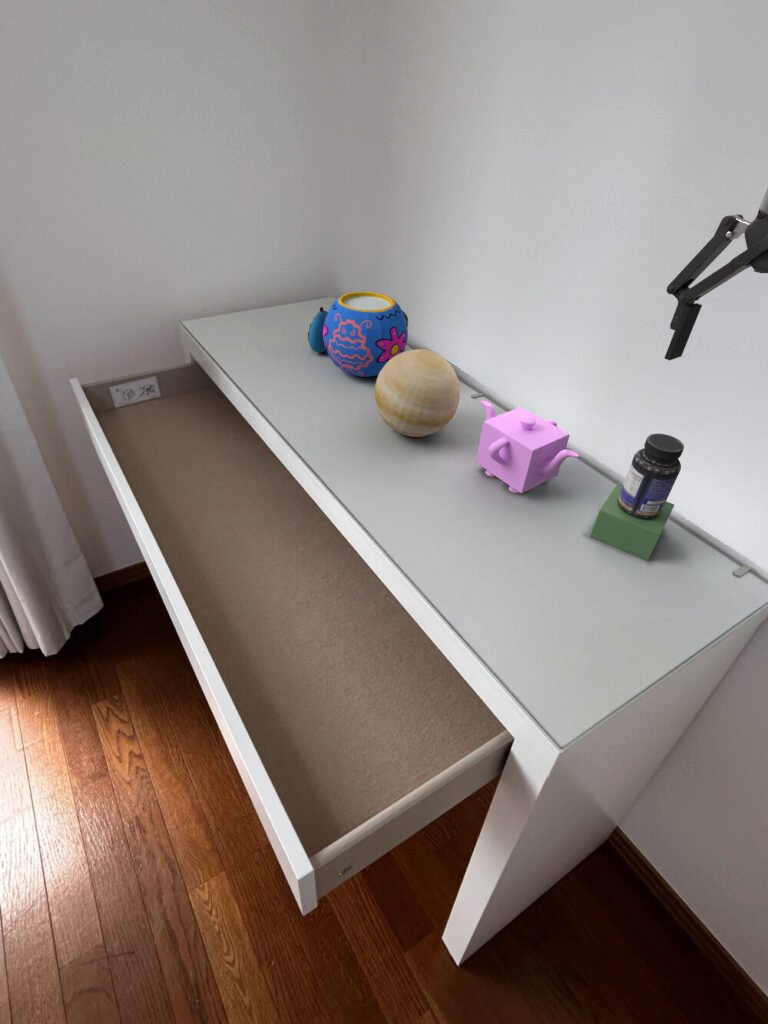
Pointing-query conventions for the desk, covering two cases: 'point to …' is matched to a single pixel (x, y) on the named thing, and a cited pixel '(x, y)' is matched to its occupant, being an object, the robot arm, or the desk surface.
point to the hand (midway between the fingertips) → (723, 378)
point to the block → (629, 527)
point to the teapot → (521, 448)
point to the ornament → (317, 332)
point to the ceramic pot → (364, 332)
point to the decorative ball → (417, 393)
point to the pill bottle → (651, 476)
